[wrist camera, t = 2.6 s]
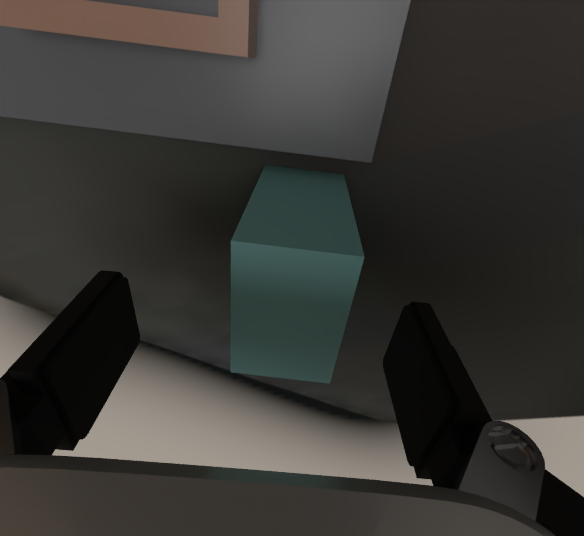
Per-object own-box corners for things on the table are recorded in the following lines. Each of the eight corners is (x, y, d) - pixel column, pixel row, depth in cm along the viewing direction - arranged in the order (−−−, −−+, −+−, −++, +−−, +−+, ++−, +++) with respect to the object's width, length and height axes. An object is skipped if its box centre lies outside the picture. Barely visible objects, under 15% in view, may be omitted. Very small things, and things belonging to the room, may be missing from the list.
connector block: (344, 174, 16) (364, 256, 10) (324, 272, 20) (329, 383, 13) (265, 164, 16) (230, 240, 10) (259, 264, 20) (230, 371, 13)
